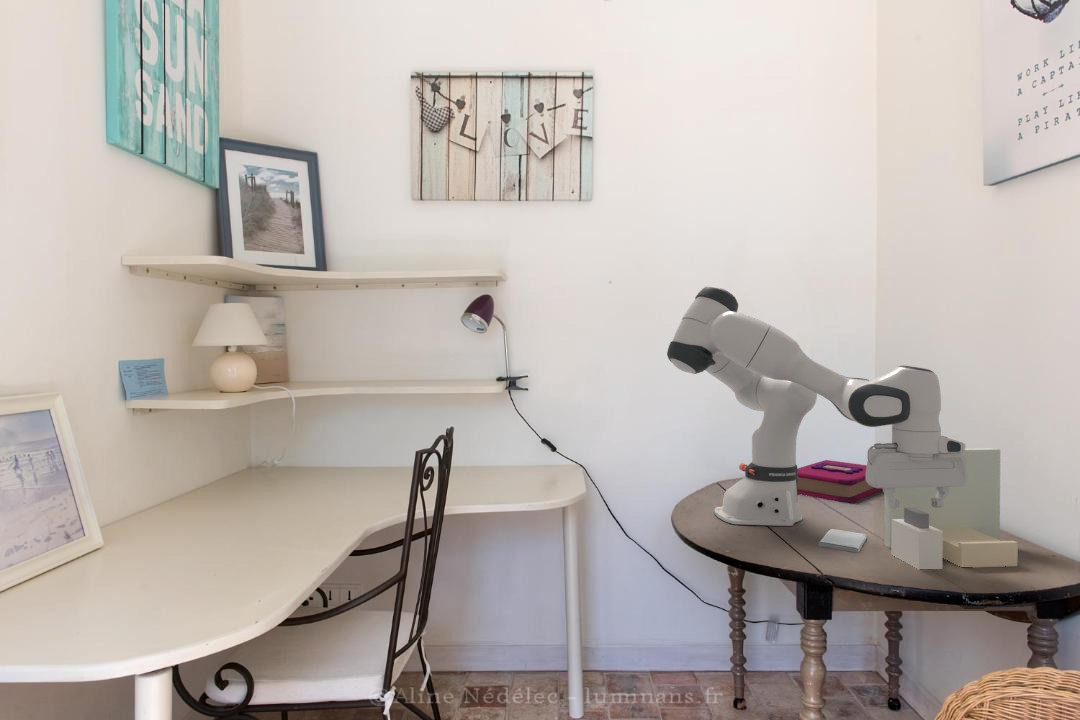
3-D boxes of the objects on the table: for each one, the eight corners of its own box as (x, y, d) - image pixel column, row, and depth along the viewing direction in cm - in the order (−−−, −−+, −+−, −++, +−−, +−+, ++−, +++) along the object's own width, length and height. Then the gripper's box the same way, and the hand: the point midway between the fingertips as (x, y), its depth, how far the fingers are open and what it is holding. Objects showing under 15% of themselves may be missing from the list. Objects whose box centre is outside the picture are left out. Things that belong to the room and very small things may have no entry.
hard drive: (858, 548, 136) (866, 533, 146) (818, 541, 141) (829, 527, 151) (858, 555, 136) (866, 540, 146) (818, 548, 141) (829, 534, 151)
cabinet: (918, 570, 125) (919, 517, 125) (891, 555, 134) (891, 505, 134) (942, 569, 125) (942, 516, 125) (913, 554, 134) (913, 505, 134)
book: (781, 492, 193) (781, 468, 193) (821, 479, 211) (821, 457, 211) (851, 505, 177) (851, 479, 177) (887, 489, 195) (887, 465, 195)
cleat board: (928, 568, 126) (929, 462, 125) (884, 545, 141) (884, 449, 140) (1049, 565, 127) (1050, 460, 127) (992, 542, 142) (993, 447, 141)
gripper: (876, 445, 125) (876, 512, 126) (973, 444, 126) (972, 510, 127) (859, 441, 132) (859, 504, 132) (951, 439, 133) (951, 502, 133)
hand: (915, 507), depth 129 cm, fingers open, 8 cm apart
